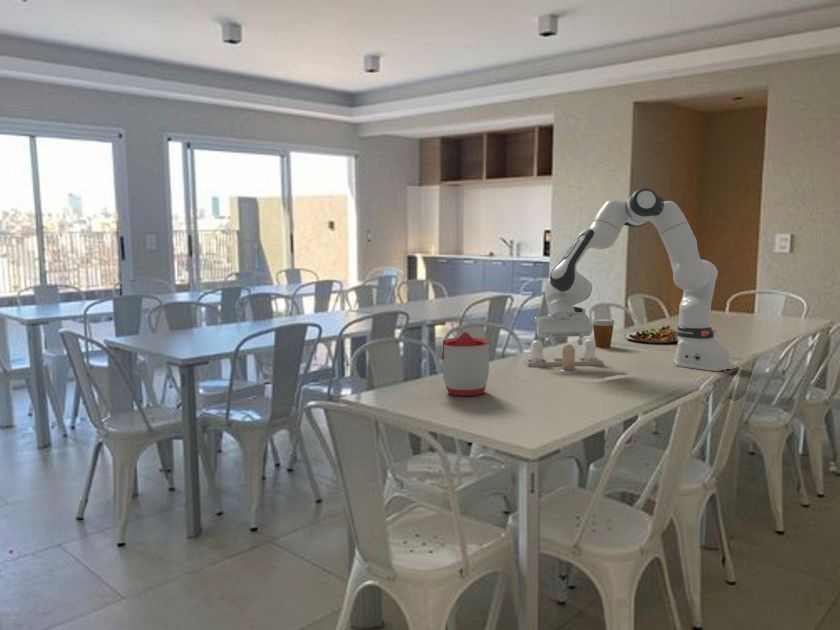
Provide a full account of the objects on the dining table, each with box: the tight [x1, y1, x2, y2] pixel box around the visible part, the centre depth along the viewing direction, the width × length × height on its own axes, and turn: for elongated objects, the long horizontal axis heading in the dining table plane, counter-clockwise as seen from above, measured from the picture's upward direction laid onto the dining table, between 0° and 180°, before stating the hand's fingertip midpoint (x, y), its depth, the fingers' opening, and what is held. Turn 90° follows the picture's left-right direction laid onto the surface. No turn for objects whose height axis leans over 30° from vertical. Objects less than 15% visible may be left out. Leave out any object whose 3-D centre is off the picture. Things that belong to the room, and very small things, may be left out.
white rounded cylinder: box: [582, 338, 597, 361], centre depth 265 cm, size 4×4×9 cm
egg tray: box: [523, 356, 605, 368], centre depth 265 cm, size 29×8×3 cm, turn 92°
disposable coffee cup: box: [591, 317, 616, 349], centre depth 304 cm, size 10×10×12 cm
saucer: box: [556, 367, 580, 373], centre depth 254 cm, size 8×8×1 cm
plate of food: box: [624, 325, 678, 344], centre depth 321 cm, size 28×28×6 cm
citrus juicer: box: [435, 331, 490, 397], centre depth 227 cm, size 16×17×20 cm
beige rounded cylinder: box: [561, 344, 576, 371], centre depth 254 cm, size 4×4×9 cm
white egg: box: [530, 340, 544, 362], centre depth 264 cm, size 4×4×9 cm
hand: (567, 344), depth 255 cm, fingers open, 8 cm apart
